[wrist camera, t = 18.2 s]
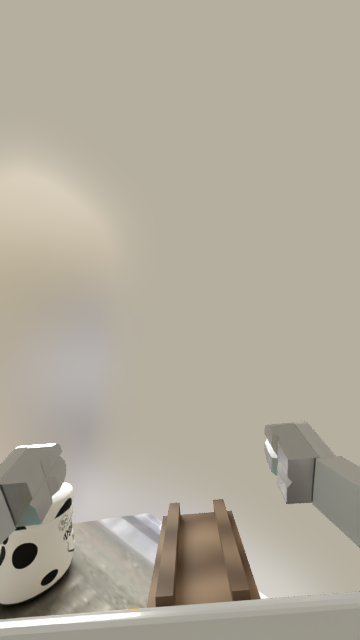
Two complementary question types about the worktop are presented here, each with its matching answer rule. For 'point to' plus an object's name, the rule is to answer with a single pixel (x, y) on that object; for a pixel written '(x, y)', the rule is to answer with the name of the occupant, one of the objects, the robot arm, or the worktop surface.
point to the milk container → (38, 552)
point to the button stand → (200, 560)
